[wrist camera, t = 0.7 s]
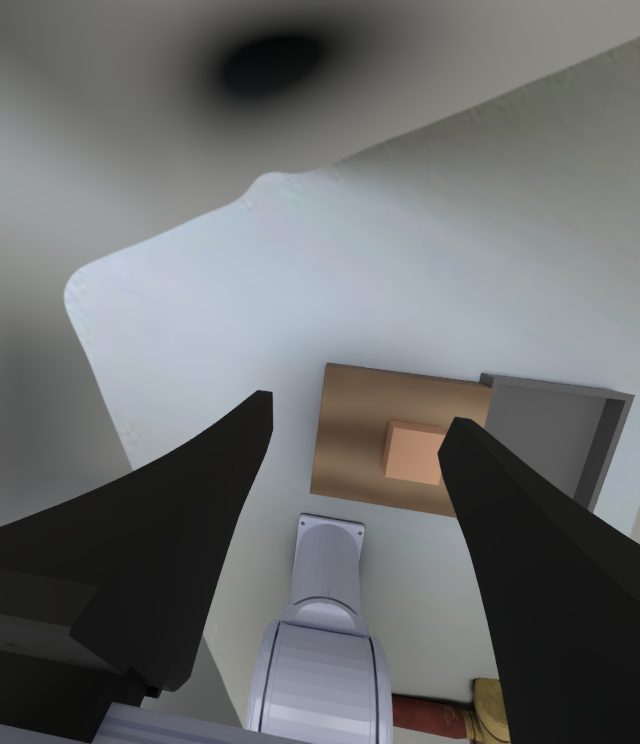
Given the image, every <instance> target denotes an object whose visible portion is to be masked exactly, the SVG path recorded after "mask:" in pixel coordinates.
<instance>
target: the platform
mask: <svg viewBox="0 0 640 744" xmlns="http://www.w3.org/2000/svg"><path fill="white" fill-rule="evenodd" d="M493 390H494V389H493V388H491V387H488V386H485V385H483V384H480V383H477V382H471V381H464V380H456V379H448V378H441V377H433V376H425V375H418V374H410V373H402V372H395V371H387V370H380V369H372V368H364V367H357V366H349V365H341V364H334V363H327V365H326V368H325V376H324V384H323V392H322V400H321V408H320V416H319V424H318V432H317V440H316V448H315V456H314V464H313V472H312V480H311V488H310V493H311V494H317V495H323V496H329V497H335V498H341V499H347V500H353V501H359V502H365V503H371V504H377V505H383V506H389V507H395V508H402V509H408V510H414V511H420V512H426V513H432V514H438V515H444V516H450V517H456V518H457V516H456V513H455V511H454V508H453V505H452V503H451V500H450V497H449V494H448V492H447V489H446V486H445V483H444V480H443V477H442V473H441V476H440V480H439V485H433V484H427V483H420V482H414V481H408V480H401V479H395V478H388V477H385V476H384V472H383V469H382V460H383V454H384V449H385V443H386V438H387V432H388V426H389V421H390V420H393V421H400V422H407V423H414V424H421V425H428V426H435V427H441V428H442V429H443V430H444V431H445V432H446V433H447V432H448V429H449V427H450V425H451V423H452V421H453V419H454V417H461V418H469V419H472V420H473V421H475V422H476V423H477V424H479V425H480V426H481V427H482V428H484V426H485V422H486V418H487V414H488V410H489V406H490V402H491V398H492V394H493Z"/></svg>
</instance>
